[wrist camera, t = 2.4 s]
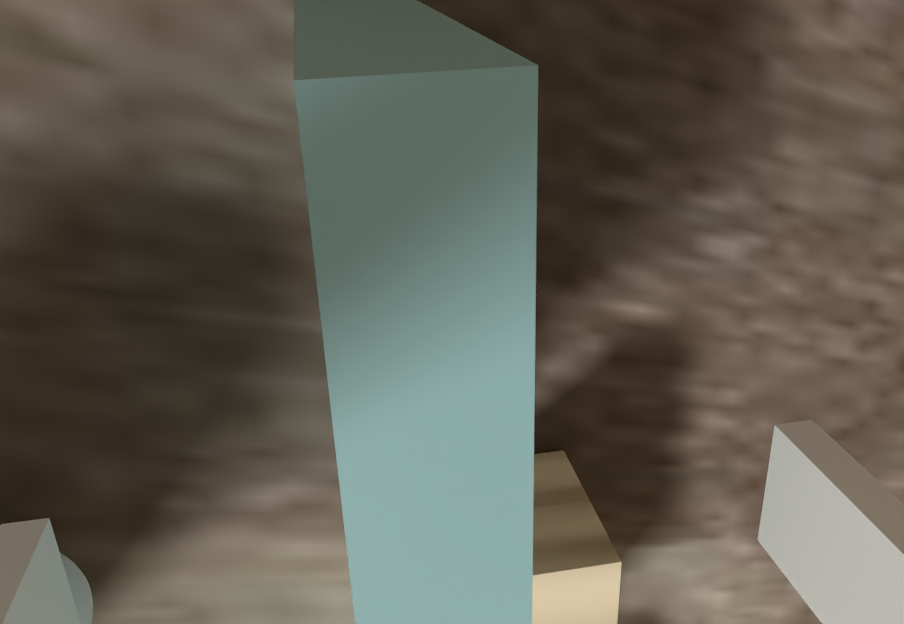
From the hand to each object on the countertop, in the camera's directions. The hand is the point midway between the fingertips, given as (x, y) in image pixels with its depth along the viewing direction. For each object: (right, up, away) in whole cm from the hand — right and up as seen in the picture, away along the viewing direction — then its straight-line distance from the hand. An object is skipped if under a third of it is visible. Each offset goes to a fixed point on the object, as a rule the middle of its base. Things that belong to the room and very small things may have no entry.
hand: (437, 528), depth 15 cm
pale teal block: (-2, +5, +11) cm, 12 cm away
